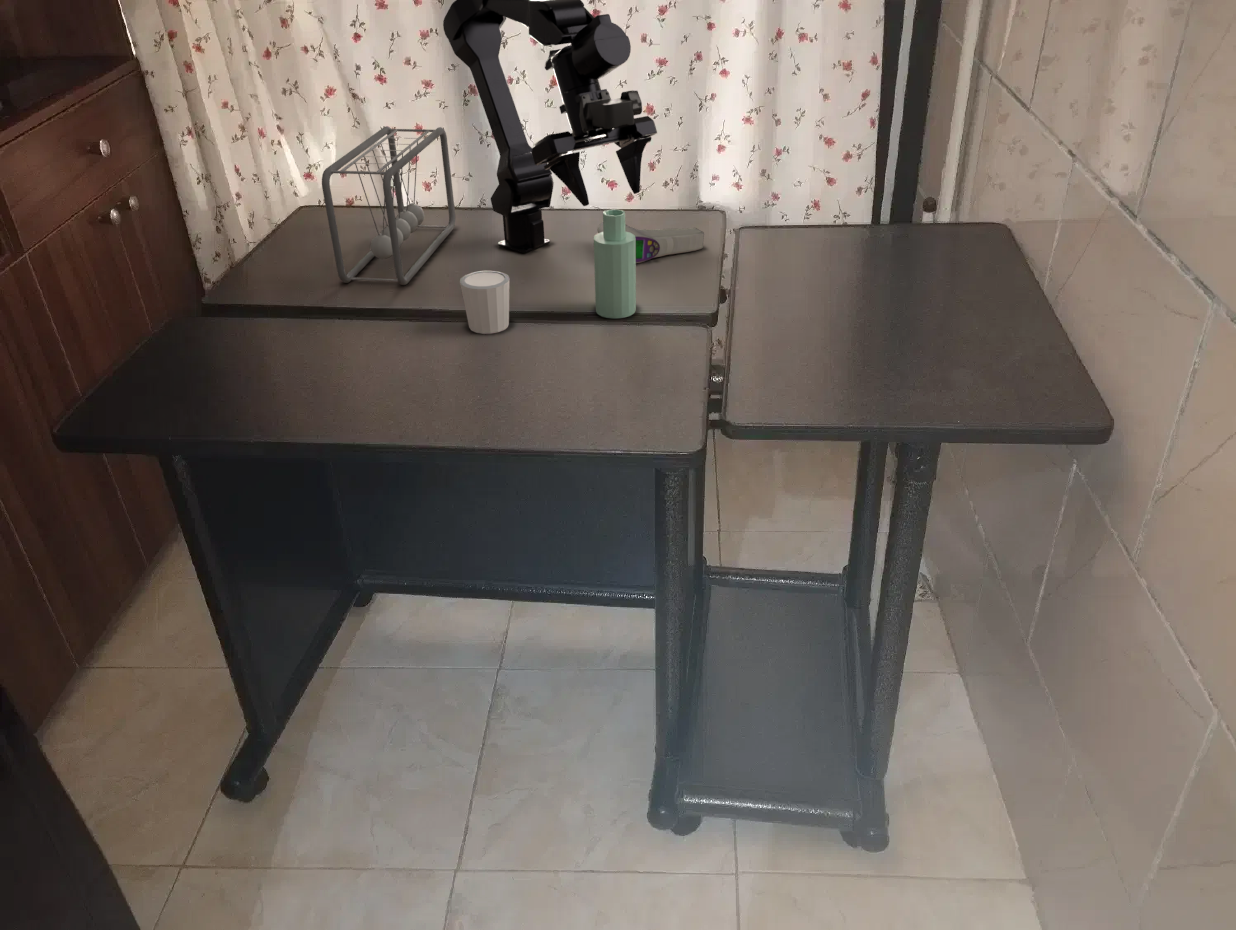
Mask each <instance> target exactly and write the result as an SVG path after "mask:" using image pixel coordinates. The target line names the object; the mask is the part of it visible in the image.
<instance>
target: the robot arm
mask: <svg viewBox="0 0 1236 930" xmlns="http://www.w3.org/2000/svg"><path fill="white" fill-rule="evenodd" d="M507 19H508V20H512V21H514V22H516V23H518V24H521V25H523V26H524V27H526V28H527V29H528V35H529V36H530V37H531V38H532V39H533V40H535V41H536V42H537V43H539V45H541V46H544V47H550V46H559V45H560V46H561V45H566V44H571V45H566V46H564V47H562V48H557V49H550V50H549V52H548V57H547V59H546V60H545V63H544V70H545V71H553V73H554V76H555V81H556V83H557V86H558V90H559V93H560V97H561V100H562V104H561V105H560V106H558V108H559V111H560V114H561V115H562V114H566V118H567V120H568V124H569V127H570V130H571V132H570V131H569V130H566V131H562V132H557V133H551V134H547V135H546V136H544V137H543V138H541V139H540V140H538V141H537V142H535V143H533V144H532V145H533V146H531V145H530V144H529V142H528V139H527V137H526V133H525V130H524V128H523V125H522V121H521V119H520V116H519V113H518V110H517V107H516V104H515V101H514V98H513V95H512V92H511V90H510V87H509V83H508V81H507V78H506V74H505V72H504V68H503V66H502V63H501V61H500V57H499V56H500V50H501V47H502V41H503V35H502V31H501V28H502V27H503V25H504V24H505V22H506V21H507ZM442 21H443V23H442V26H443V31H444V35H445V38H447V40H448V43H449V45H450V47H451V49H452V51H453V53H454V55H455V56H456V57H457V58H458V59H459V60H460V61H461V62H463V64H464V65H466V66H467V67H468V68H469V71H470V73H471V75H472V78H473V81H474V84H475V87H476V89H477V90H476V91H477V93H478V96H479V98H480V101H481V104H482V107H483V110H484V113H485V115H486V118H487V122H488V124H489V127H490V130H491V133H492V137H493V139H494V143H495V144H496V147H497V151H498V153H499V160H498V165H497V168H496V169H497V170H496V178H497V182H498V185H497V186H496V188H495V190H494V192H493V193H492V194H491V197H490V203H491V207H492V211H493V212H494V213H497V214H498V215H500V216H502V225H503V226H502V227H503V237H504V238H503V239H504V240H500V241H498V243H497V246H499V247H502V248H505V249H508V250H512V251H516V252H519V253H522V254H526V253H527V254H528V253H529V252H531V251H534V250H538V249H539V248H542V247H544V246H546V245H549V244H550V242H551V240H550V239H548V238H545V224H544V223H545V222H544V220H543V212H542V209H545V208H547V209H548V208H550V207H551V203H552V197H553V193H554V185H555V184H554V183H555V182H554V179H553V176H552V175H553V174H554V175H555V176H556V177H557V178H558V179H559V180H560V181H561V182H562V183H563V185H565V187H566V188H567V189H568V190H569V191H570V192H571V194H572V195H573V196H574V197H575V198H576V200H578V202H579V203H580V204H581V205H582V207H587V206H589V205H590V201H589V195H588V191H587V189H586V185H585V181H584V179H583V175H582V172H581V169H580V157H581V156H580V154H581V153H580V150H586V149H590V148H594V147H600V146H605V145H609V144H615V145H616V146H617V147H618V148H619V149H617V150H616V151H615V153H616V156H617V159H618V162H619V164H620V166H621V169H622V171H623V173H624V177H625V178H626V180H627V183H628V185H629V188H630V189H631V191H632V193H633V194H634V195H636V194H639V193H640V191H641V173H642V171H641V169H642V158H643V154H644V150H645V148H646V146H647V144H649V143H650V142H652V139H653V138H652V137H653V136H656V135H658V130H657V126H656V123H655V121H654V119H652V118H651V116H649V115H645V116H640V117H635V116H639V115H641V114H642V112H643V103H642V99H641V96H640V94H639V91H638V90H633V89H632V90H626V91H622V92H621V93H620V98H612V97H611V95H610V92H609V91H608V89H607V88H604V89H602V87H601V84H600V81H599V80H600V79H602V78H604V77H605V76H607V75H608V74H610V73H611V72H612V71H614V70H616V69H617V68H619V67H621V66H622V65H623V64H625V63H626V62H627V61H628V60H629V58H630V57H631V56H630V55H631V51H632V49H631V48H632V46H631V40H630V38H629V36H628V35H627V34H626V32H625V31H624V30H623V29H622V27H621V26H619V25H618V24H616V23H614V22H612V19H611V16H610V14H609V13H606V14H605V13H603V14H597V15H596V16H594V15H593V14H592V13H591V12H590V11H589V10H588V9H587V8H586V7H585V4H584V2H583V1H582V0H454V1H453V2H452V3H451V5H450V7H449V8H448V10H447V12H446V13H445V15H444V18H443V20H442ZM575 151H576V152H575Z"/></svg>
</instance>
